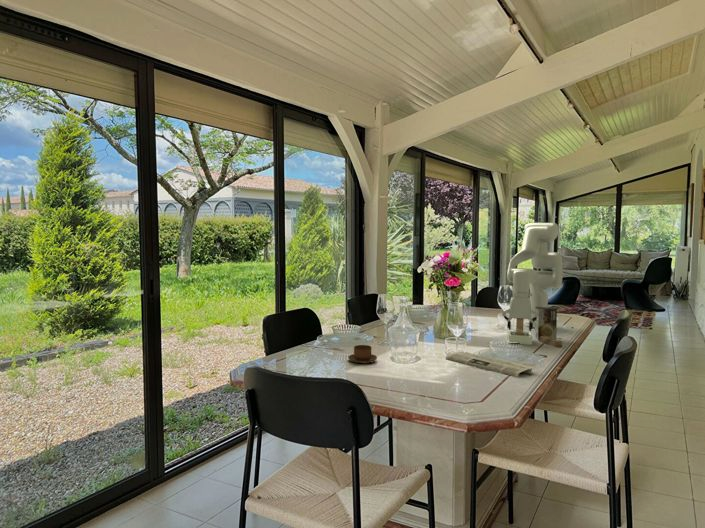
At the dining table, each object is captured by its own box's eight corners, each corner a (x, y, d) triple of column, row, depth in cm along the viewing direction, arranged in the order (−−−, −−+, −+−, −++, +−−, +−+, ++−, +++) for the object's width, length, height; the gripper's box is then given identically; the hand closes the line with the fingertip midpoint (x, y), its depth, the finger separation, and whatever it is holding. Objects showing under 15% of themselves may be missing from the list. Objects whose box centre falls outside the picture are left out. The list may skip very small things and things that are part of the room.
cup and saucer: (344, 359, 214) (344, 345, 213) (369, 356, 218) (369, 342, 218) (355, 366, 203) (355, 351, 202) (381, 363, 207) (381, 348, 207)
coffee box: (552, 338, 255) (553, 306, 253) (556, 340, 248) (557, 308, 247) (534, 337, 256) (535, 306, 254) (537, 340, 249) (538, 308, 248)
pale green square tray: (507, 338, 253) (507, 330, 252) (529, 339, 250) (530, 332, 250) (508, 343, 242) (509, 335, 242) (531, 344, 240) (532, 336, 240)
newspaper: (445, 360, 214) (445, 352, 213) (463, 355, 222) (463, 347, 222) (521, 379, 187) (521, 370, 187) (538, 373, 196) (538, 364, 195)
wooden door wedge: (539, 342, 246) (539, 336, 246) (544, 342, 247) (544, 336, 247) (556, 348, 235) (556, 341, 235) (561, 347, 236) (562, 341, 236)
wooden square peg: (515, 339, 248) (516, 315, 247) (522, 339, 248) (523, 315, 246) (516, 340, 245) (517, 316, 244) (522, 340, 245) (523, 316, 244)
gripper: (538, 294, 246) (537, 329, 247) (501, 293, 250) (501, 327, 252) (540, 296, 239) (539, 332, 240) (502, 295, 243) (501, 330, 244)
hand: (519, 329), depth 246 cm, fingers open, 9 cm apart
